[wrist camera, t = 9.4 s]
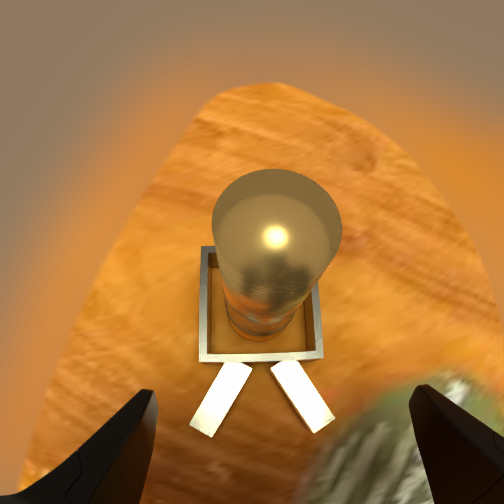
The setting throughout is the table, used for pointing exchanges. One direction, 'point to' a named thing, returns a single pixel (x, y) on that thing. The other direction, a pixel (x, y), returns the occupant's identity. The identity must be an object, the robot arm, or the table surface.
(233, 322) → the gold metal cylinder
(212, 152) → the table surface
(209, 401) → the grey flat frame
